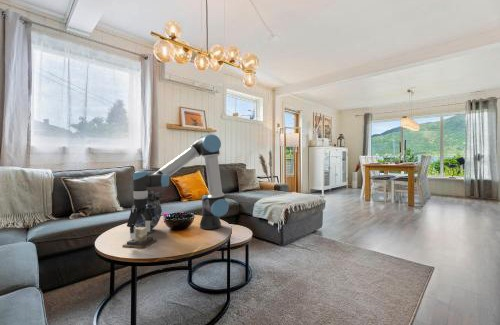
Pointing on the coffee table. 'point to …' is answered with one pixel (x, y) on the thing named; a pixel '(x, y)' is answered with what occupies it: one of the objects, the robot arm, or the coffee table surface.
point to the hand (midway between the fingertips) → (140, 235)
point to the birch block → (141, 234)
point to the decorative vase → (154, 209)
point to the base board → (140, 243)
